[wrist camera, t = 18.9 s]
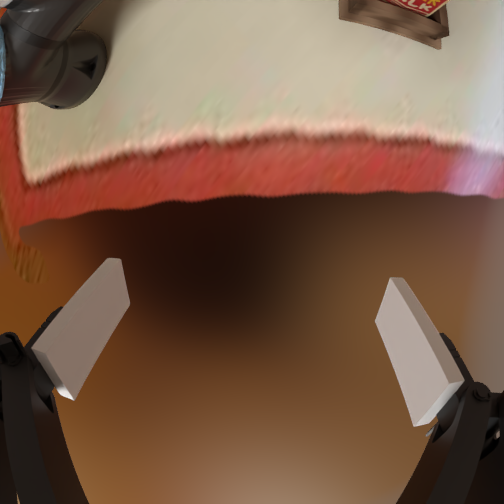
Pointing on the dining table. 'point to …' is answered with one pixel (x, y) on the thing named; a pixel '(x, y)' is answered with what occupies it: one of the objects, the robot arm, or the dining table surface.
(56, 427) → the robot arm
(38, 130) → the dining table surface
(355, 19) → the carton bracket
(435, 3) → the milk carton
